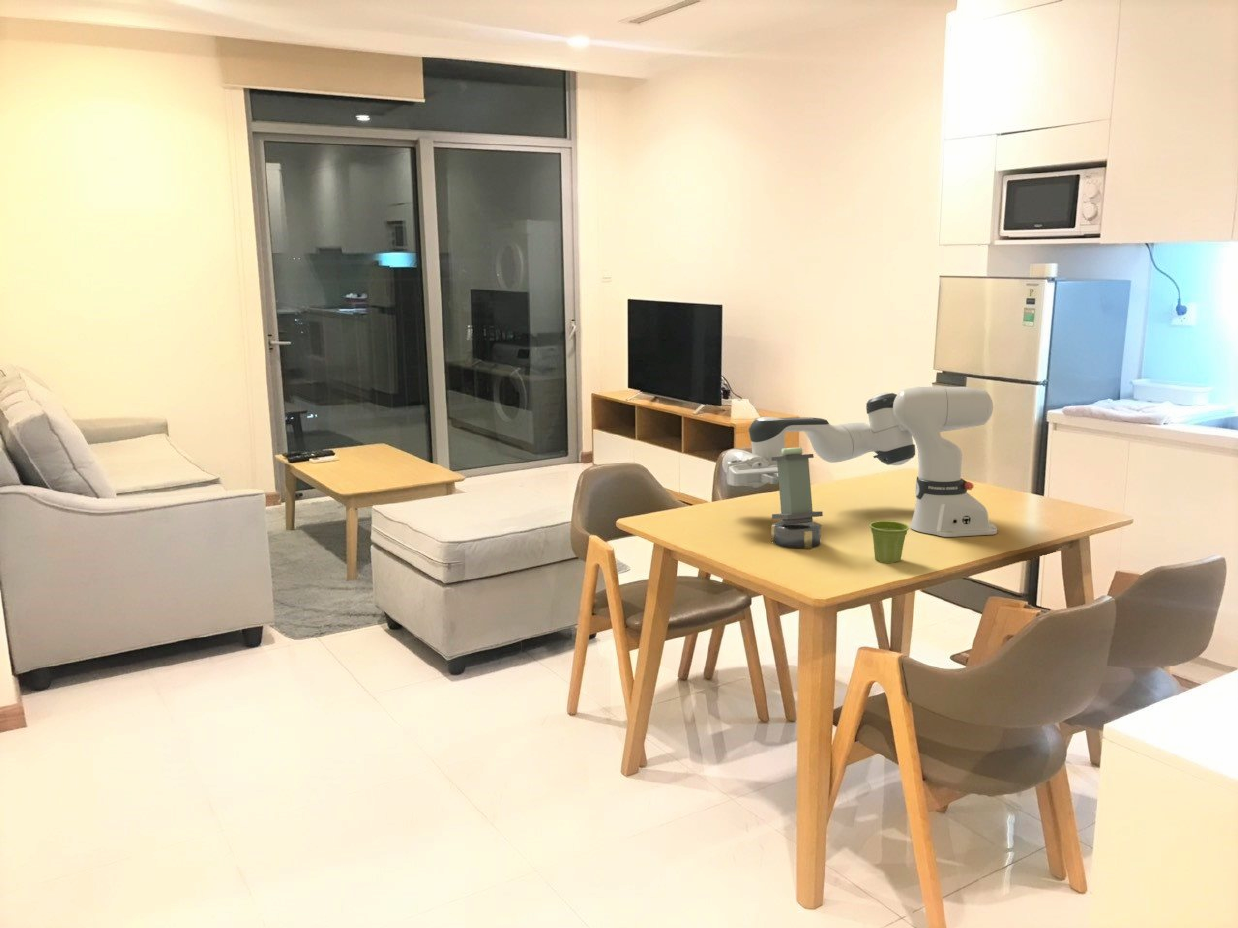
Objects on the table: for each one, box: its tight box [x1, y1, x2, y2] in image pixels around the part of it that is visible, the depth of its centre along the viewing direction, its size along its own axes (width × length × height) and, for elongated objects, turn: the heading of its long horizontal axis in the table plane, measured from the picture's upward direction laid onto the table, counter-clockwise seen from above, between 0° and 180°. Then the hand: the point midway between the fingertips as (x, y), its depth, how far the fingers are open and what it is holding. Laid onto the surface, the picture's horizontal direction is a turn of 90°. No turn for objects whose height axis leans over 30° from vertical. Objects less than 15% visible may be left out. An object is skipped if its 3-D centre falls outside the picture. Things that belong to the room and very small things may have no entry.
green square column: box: [771, 447, 824, 525], centre depth 259 cm, size 10×9×20 cm
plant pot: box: [869, 520, 910, 564], centre depth 242 cm, size 9×9×9 cm
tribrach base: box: [770, 520, 822, 550], centre depth 259 cm, size 12×13×5 cm
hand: (776, 480), depth 267 cm, fingers closed
